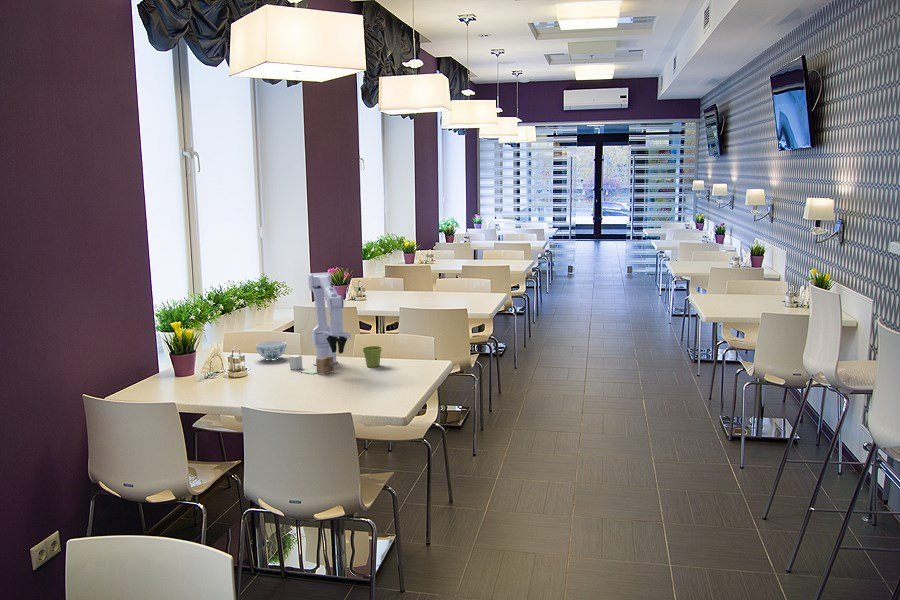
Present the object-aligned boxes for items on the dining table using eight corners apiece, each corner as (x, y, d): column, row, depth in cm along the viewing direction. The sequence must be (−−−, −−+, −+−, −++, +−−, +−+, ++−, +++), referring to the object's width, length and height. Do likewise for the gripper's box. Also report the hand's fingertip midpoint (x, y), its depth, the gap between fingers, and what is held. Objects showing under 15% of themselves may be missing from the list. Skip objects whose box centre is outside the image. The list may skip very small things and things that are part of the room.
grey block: (296, 367, 372) (295, 354, 372) (302, 368, 370) (301, 355, 370) (290, 369, 369) (289, 356, 368) (296, 369, 367) (295, 357, 366)
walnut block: (327, 370, 364) (326, 355, 363) (333, 371, 362) (332, 356, 361) (316, 373, 358) (316, 358, 357) (323, 374, 356) (322, 359, 355)
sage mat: (316, 367, 370) (316, 366, 370) (329, 369, 366) (329, 368, 366) (299, 372, 361) (299, 371, 361) (313, 374, 357) (313, 373, 357)
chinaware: (262, 356, 400) (261, 341, 399) (291, 355, 398) (290, 340, 397) (252, 362, 385) (251, 347, 384) (282, 362, 384) (281, 347, 382)
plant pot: (364, 369, 365) (363, 350, 364) (361, 364, 374) (361, 346, 373) (384, 367, 367) (383, 349, 366) (381, 363, 376) (380, 345, 375)
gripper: (318, 323, 353) (319, 352, 355) (342, 325, 345) (344, 355, 347) (328, 320, 359) (329, 350, 361) (353, 323, 351) (354, 352, 353)
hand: (337, 352), depth 354 cm, fingers open, 3 cm apart
